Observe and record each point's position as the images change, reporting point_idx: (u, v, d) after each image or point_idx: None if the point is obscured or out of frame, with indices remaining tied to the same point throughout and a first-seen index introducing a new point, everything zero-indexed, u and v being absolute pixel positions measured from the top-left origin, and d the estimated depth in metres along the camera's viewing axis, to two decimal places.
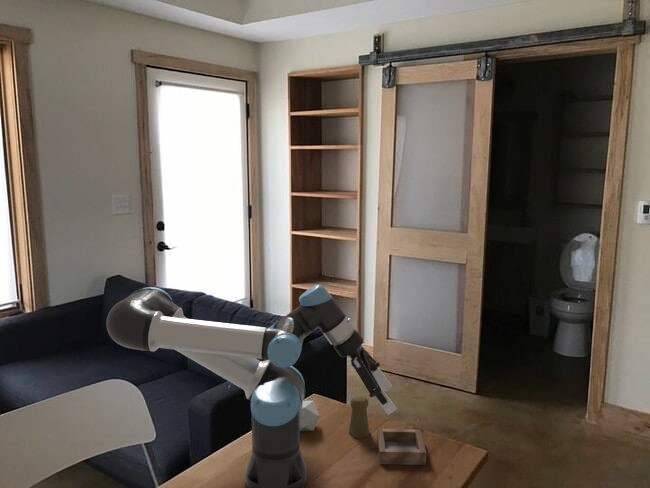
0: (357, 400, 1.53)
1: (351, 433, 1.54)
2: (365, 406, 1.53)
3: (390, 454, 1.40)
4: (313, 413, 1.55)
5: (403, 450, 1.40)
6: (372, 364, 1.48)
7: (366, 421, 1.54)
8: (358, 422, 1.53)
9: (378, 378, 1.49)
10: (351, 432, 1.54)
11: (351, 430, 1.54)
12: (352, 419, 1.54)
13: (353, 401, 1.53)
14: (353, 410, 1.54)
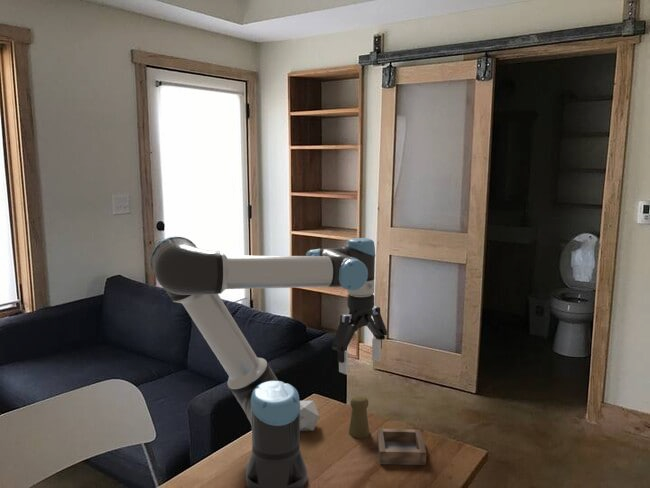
0: (357, 400, 1.53)
1: (351, 433, 1.54)
2: (365, 406, 1.53)
3: (390, 454, 1.40)
4: (313, 413, 1.55)
5: (403, 450, 1.40)
6: (375, 332, 1.55)
7: (366, 421, 1.54)
8: (358, 422, 1.53)
9: (374, 346, 1.57)
10: (351, 432, 1.54)
11: (351, 430, 1.54)
12: (352, 419, 1.54)
13: (353, 401, 1.53)
14: (353, 410, 1.54)
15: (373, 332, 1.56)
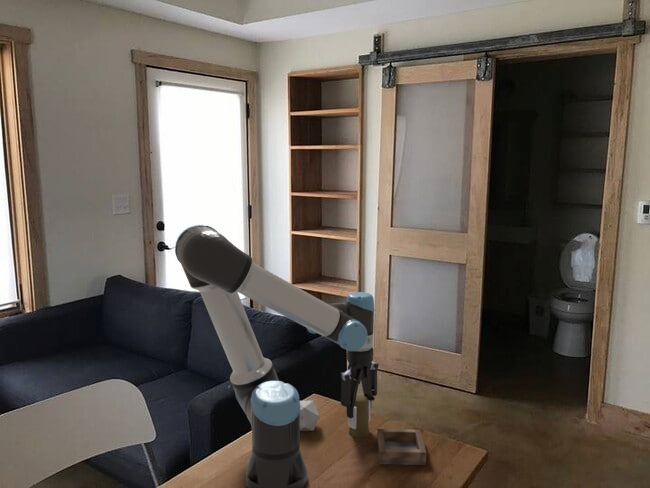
0: (357, 400, 1.53)
1: (351, 433, 1.54)
2: (365, 406, 1.53)
3: (390, 454, 1.40)
4: (313, 413, 1.55)
5: (403, 450, 1.40)
6: (367, 391, 1.56)
7: (366, 421, 1.54)
8: (358, 422, 1.53)
9: None
10: (351, 432, 1.54)
11: (351, 430, 1.54)
12: None
13: None
14: None
15: (365, 390, 1.56)
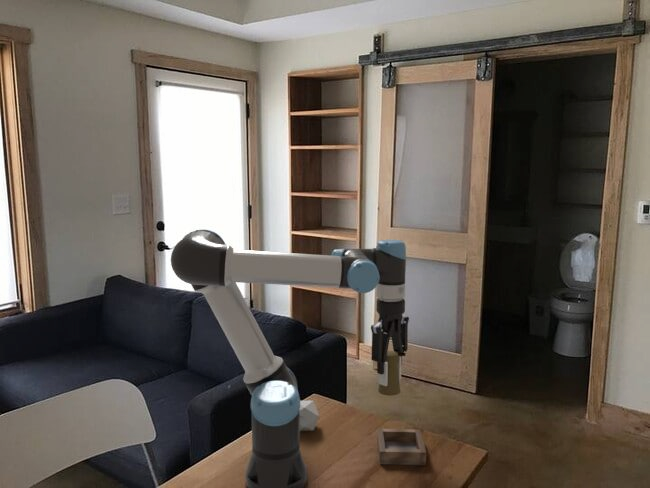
0: (388, 355, 1.43)
1: (381, 391, 1.45)
2: (396, 361, 1.43)
3: (390, 454, 1.40)
4: (313, 413, 1.55)
5: (403, 450, 1.40)
6: (398, 345, 1.46)
7: (397, 378, 1.45)
8: (389, 378, 1.44)
9: None
10: (381, 390, 1.45)
11: (381, 388, 1.45)
12: None
13: None
14: None
15: (395, 345, 1.47)
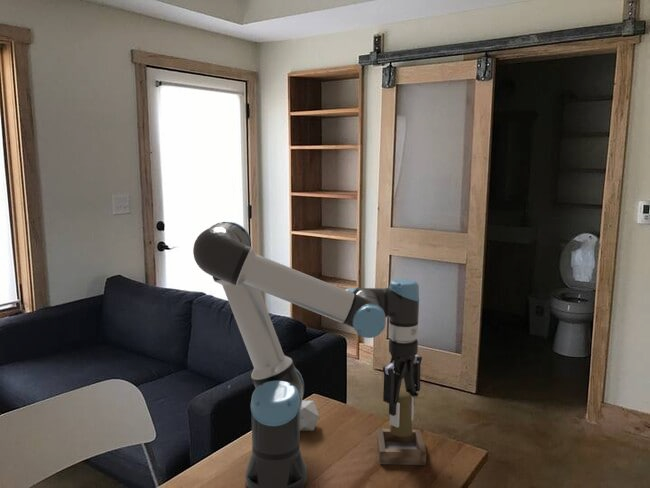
0: (400, 396, 1.42)
1: (393, 431, 1.43)
2: (409, 402, 1.42)
3: (390, 454, 1.40)
4: (313, 413, 1.55)
5: (403, 450, 1.40)
6: (410, 386, 1.44)
7: (409, 418, 1.43)
8: (401, 419, 1.42)
9: None
10: (393, 430, 1.43)
11: (393, 428, 1.43)
12: None
13: None
14: None
15: (407, 385, 1.45)
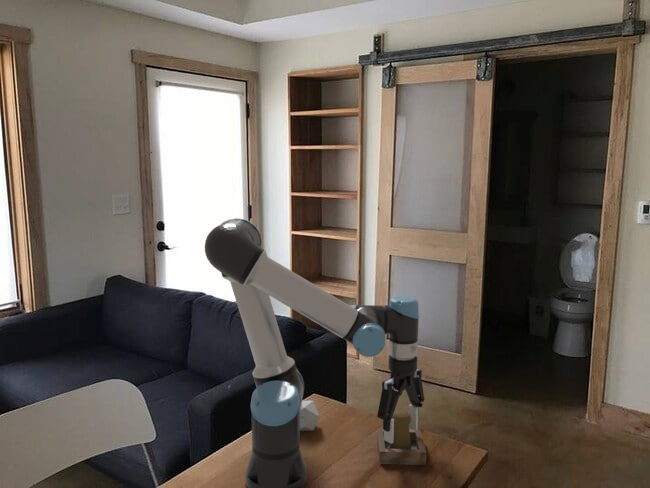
0: (399, 416, 1.42)
1: None
2: (408, 422, 1.42)
3: (390, 454, 1.40)
4: (313, 413, 1.55)
5: (403, 450, 1.40)
6: (413, 398, 1.46)
7: (408, 438, 1.44)
8: (400, 439, 1.43)
9: (411, 414, 1.48)
10: None
11: (392, 448, 1.44)
12: None
13: (395, 417, 1.43)
14: (395, 426, 1.44)
15: (411, 397, 1.47)
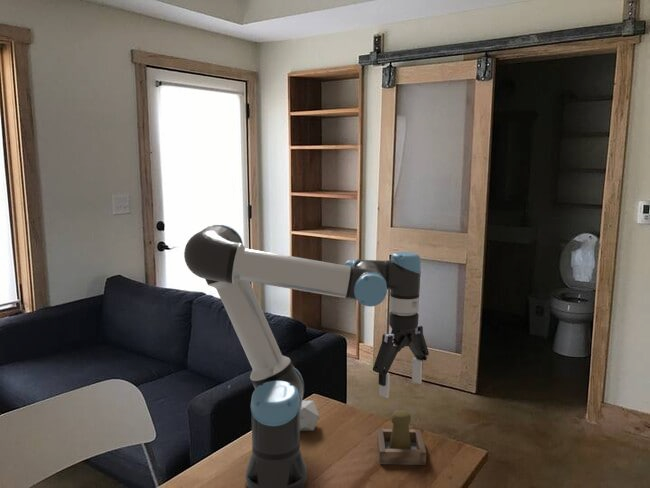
0: (399, 416, 1.43)
1: None
2: (408, 422, 1.43)
3: (390, 454, 1.40)
4: (313, 413, 1.55)
5: (403, 450, 1.40)
6: (417, 353, 1.45)
7: (408, 438, 1.44)
8: (400, 439, 1.43)
9: (415, 367, 1.47)
10: None
11: (392, 448, 1.44)
12: (393, 436, 1.44)
13: (395, 417, 1.43)
14: (394, 426, 1.44)
15: (414, 352, 1.46)
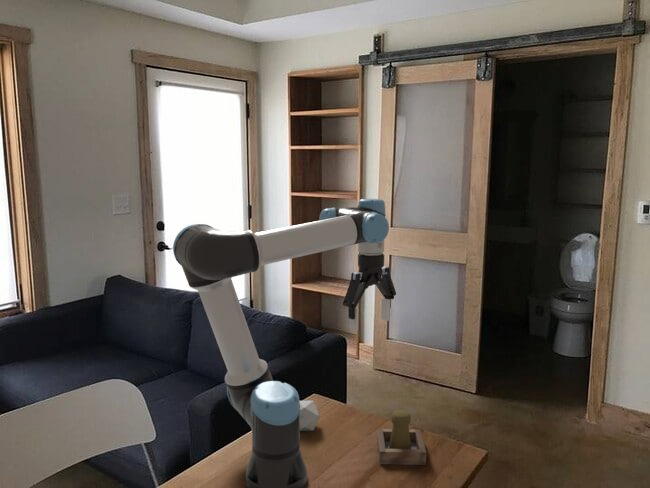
0: (399, 416, 1.43)
1: None
2: (408, 422, 1.43)
3: (390, 454, 1.40)
4: (313, 413, 1.55)
5: (403, 450, 1.40)
6: (385, 292, 1.59)
7: (408, 438, 1.44)
8: (400, 439, 1.43)
9: (383, 306, 1.61)
10: None
11: (392, 448, 1.44)
12: (393, 436, 1.44)
13: (395, 417, 1.43)
14: (394, 426, 1.44)
15: (382, 292, 1.60)
